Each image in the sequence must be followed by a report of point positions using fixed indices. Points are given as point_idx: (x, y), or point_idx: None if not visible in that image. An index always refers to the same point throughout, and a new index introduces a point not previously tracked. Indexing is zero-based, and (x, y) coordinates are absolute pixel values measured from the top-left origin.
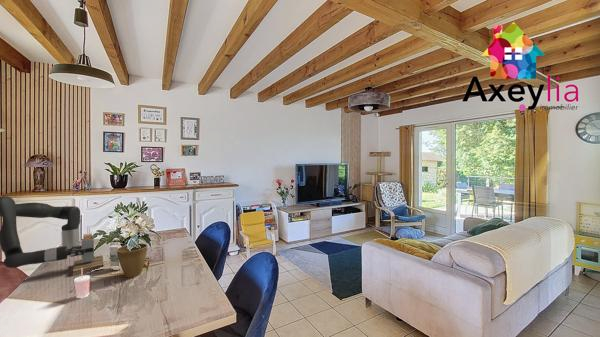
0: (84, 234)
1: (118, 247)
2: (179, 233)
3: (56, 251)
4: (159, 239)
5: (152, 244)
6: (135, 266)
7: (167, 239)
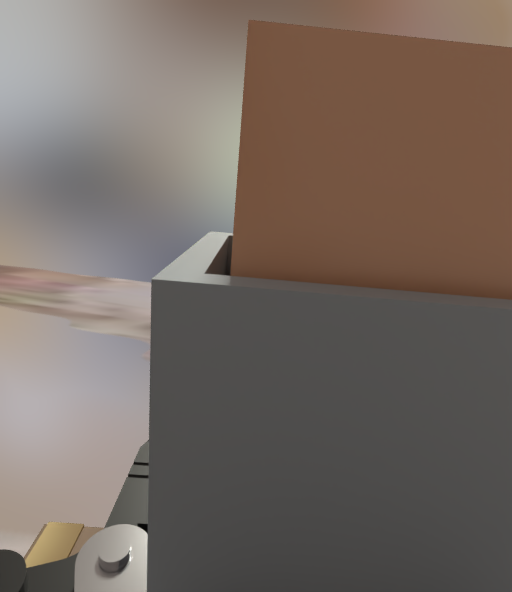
0: (318, 44)
1: None
2: (33, 273)
3: None
4: (20, 304)
5: (71, 326)
6: None
7: (67, 296)
